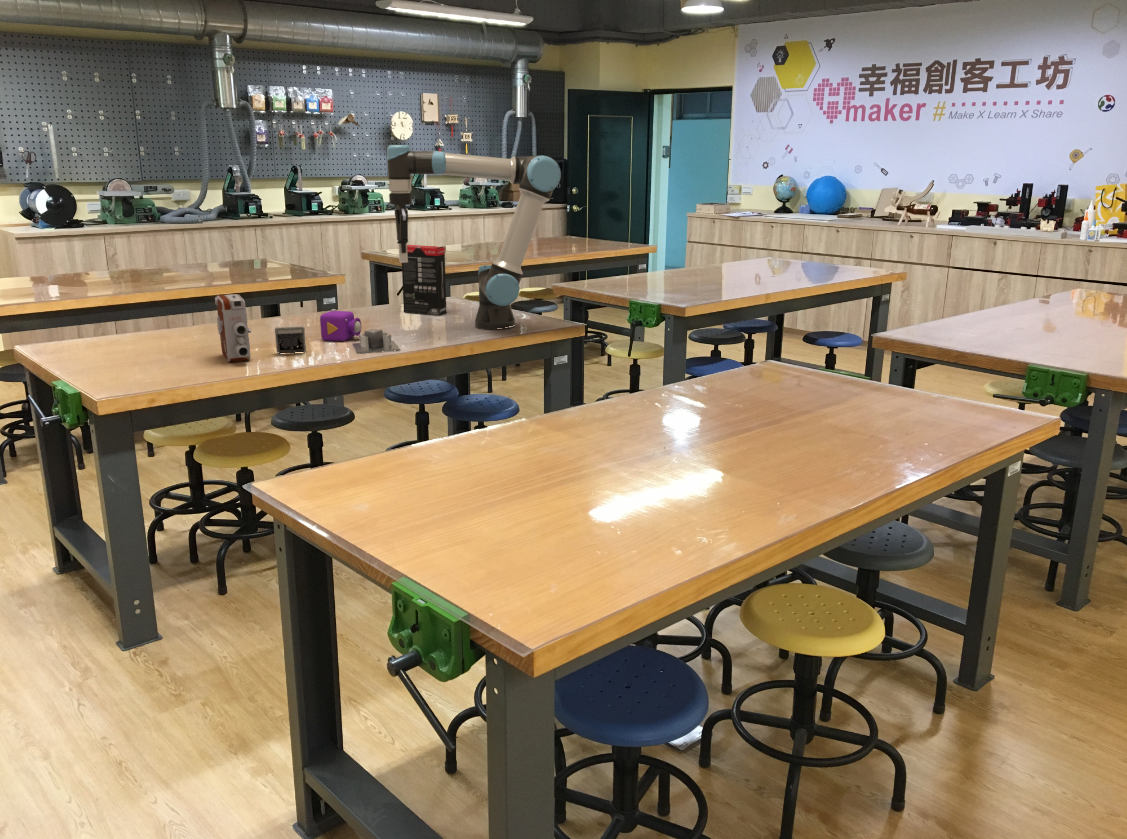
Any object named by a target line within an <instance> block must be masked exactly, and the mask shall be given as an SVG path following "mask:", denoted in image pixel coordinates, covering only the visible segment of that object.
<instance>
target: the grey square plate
mask: <svg viewBox="0 0 1127 839" xmlns="http://www.w3.org/2000/svg"><path fill="white" fill-rule="evenodd" d="M358 337H359V342H356V343H355V342H353V343H352V344H351V345H352V347H353V349H354V351H355V350H356V351H355V352H356V354H357V353H361V354H371V352H376V353H383V352H382V351H391V352H395V351H394V350H400V351H401V348H400V347H399V346H398V344H397V343H396V342H395V341H394V340H392V333H391V332H388V331H383V343H384V346H383V347H379V348H369V345H368V337H367V336H365V335H364V332H362V333H360V334H359V336H358ZM369 352H370V353H369Z"/></svg>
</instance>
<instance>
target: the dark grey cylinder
mask: <svg viewBox="0 0 1127 839" xmlns="http://www.w3.org/2000/svg"><path fill="white" fill-rule="evenodd" d="M383 332H384V331H383V329H377V328H375V329H367V330H365V331H364V332H363V333H364V335H365V336H367V337H368V345H369V348H379V347H383V346H384V343H383Z"/></svg>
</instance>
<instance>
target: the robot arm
mask: <svg viewBox="0 0 1127 839" xmlns="http://www.w3.org/2000/svg"><path fill="white" fill-rule="evenodd" d="M386 151H387V152H386V155H387V156H386V157H387V158H386V159H387V160H386V161H387V162H386V163H387V175H388V182H387V183H386V185H387V186H388V190H389V192H390V193H389V194H388V198H389V204H390V205H395V206H396V207H395V208H396V209H394V216H395V226H396V240H397V244H398V259H399V260H398V262H399V263H401V264H402V263H405V262H408V255H407V245H408V243H409V233H408V232H409V231H408V230H409V211H408V209H407V208H406V205H412V203H413V200H412V198H413V197H412V196H413V195H412V193H411V192H412V176H411V175H444V176H454V177H455V176H457V177H464V178H465V177H466V178H477V179H488V180H497V181H498V180H499V181H508V182H510V184H512V185H518V186H519V187H518V190H519V191H518V192H519V193H520V196H519V199H518V202H517V206H516V207H515V211H514V213H513V216H512V218H511V222H510V224H509V228H508V229H507V230H508V231H507V233H506V235H505V239H504V241H503V244H502V247H501V251H500V253H499V256H498V258H497V259H495V260H494V261H492V263H491V264H486V265H485V264H483V265H480V266H479V267H478V273H477V275H478V300H479V301H478V302H479V305H478V309H477V312H476V315H475V320H474V324H475V325H474V326H475V327H476V328H477V329H481V328H483V330H498V329H497V328H505V327H509V326H513V325H515V326H516V319H515V316H514V313H513V312H514V311H513V309H512V306H511V304H512V303H514V302H515V301H516V300H517V298H518V296H519V293H520V282H521V281H522V278H523V276H524V275H523V274H524V273H523V270H522V268H521V267H522V266H523V265H522V264H523V263H524V259H525V257H526V254H527V251H528V248H529V246H530V243H531V240H532V237H533V234H534V232H535V229H536V226H537V224H538V221H539V217H540V215H541V212H542V209H543V207H544V204H545V203H547V202H549V201H550V200H551V198H552V195H553V191H554V190H555V188H556V187H557V186H558V185H559V184H560V180H561V176H562V174H561V168H560V165H559V164H558V163H557V161H556V160H555V159H554V158H552V157H550V156H547V155H542V154H541V155H532V156H531V155H530V156H513V155H512V157H511V158H503V157H494V156H493V157H492V156H485V155H484V156H483V155H481V156H480V155H471V154H460V153H451V152H444V151H440V150H438V151H437V150H421V151H419V150H418V151H415V150H411V149H410V146H409V144H401V145H400V144H389V145H388V147H387V150H386Z"/></svg>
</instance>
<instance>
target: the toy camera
mask: <svg viewBox="0 0 1127 839" xmlns="http://www.w3.org/2000/svg"><path fill="white" fill-rule="evenodd" d="M354 314H355V313H353V312H352V311H350V310H349V311H348V310H347V311H346V310H337V309H335V308H333V309H331V310H330V311H326V312H324V313H323V314H321V315H320V316H319V323H320V325H319V327H320V335H321V339H322V340H323V341H326V340H327V341H330V342H332V341H333V342H346V341H348V340H350V339H352V338H354V337H355V336H356V337H359V335H360V334H361V332H362V322H361V321H362V320H361V319H360V317H355V315H354ZM327 341H326V342H327Z"/></svg>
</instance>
